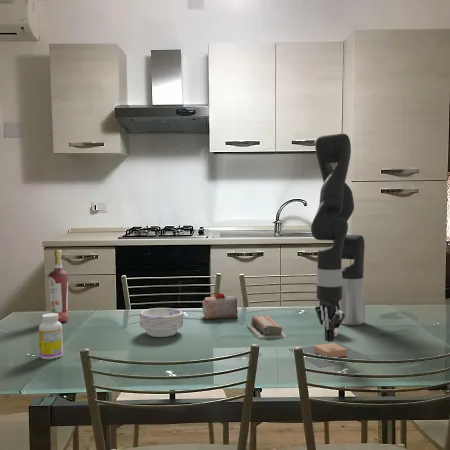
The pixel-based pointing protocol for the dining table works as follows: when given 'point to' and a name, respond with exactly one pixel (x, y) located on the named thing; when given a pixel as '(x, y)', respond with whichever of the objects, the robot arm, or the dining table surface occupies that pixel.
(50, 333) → the supplement bottle
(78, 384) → the dining table surface
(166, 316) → the paper bowls
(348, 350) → the mat
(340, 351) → the tile
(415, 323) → the dining table surface
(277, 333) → the packaged product
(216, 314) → the food item
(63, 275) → the liquor
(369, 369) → the dining table surface
